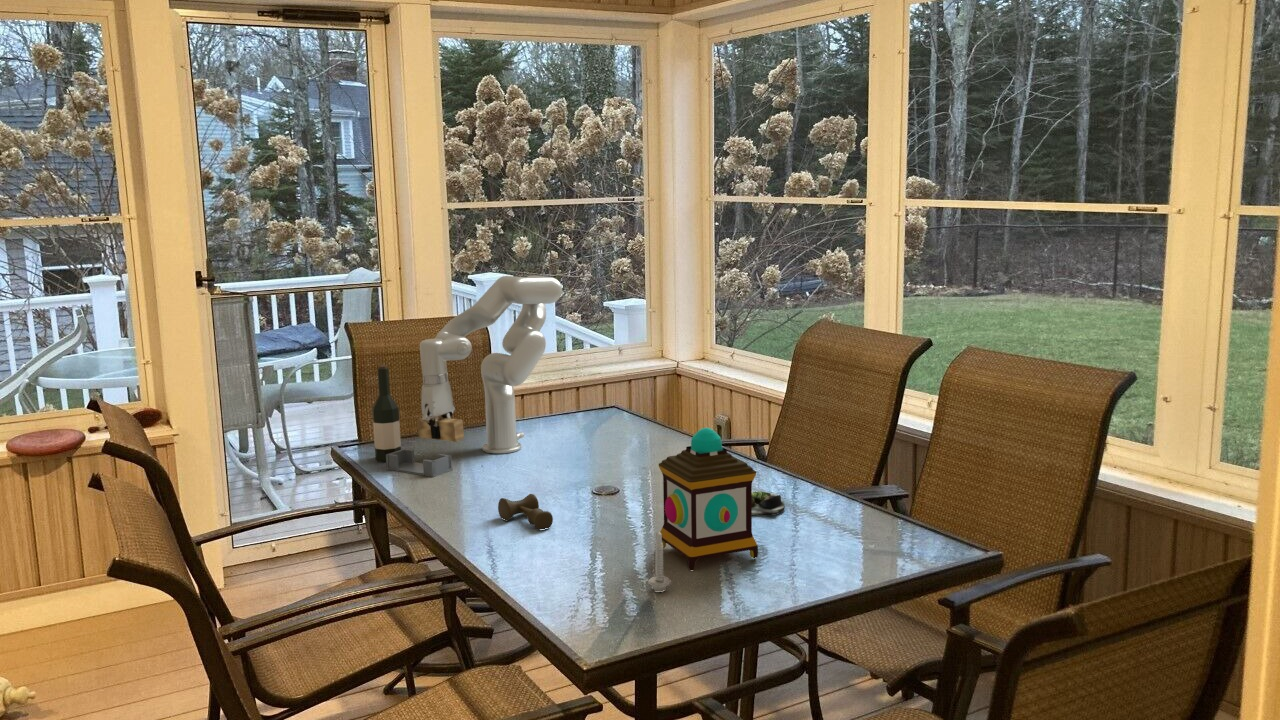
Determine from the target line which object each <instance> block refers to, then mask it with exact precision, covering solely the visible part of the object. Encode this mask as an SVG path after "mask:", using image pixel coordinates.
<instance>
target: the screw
mask: <svg viewBox="0 0 1280 720" xmlns="http://www.w3.org/2000/svg"><path fill="white" fill-rule="evenodd" d="M662 544H663V542H662V534H661V533H660V531H657V532H656V533H655V544H654V545H655V546H654V548H655V549H654V554H655V555H654V556H655V557H654V562H655V563H654V564H655V565H654V572H655V576H652V577H650V578H649V579H648V581H647V583H648V585H649V586H651V587H653V591H654V590H655V591H663V590H666V591H667V587H668V586H670V585H671V584H672V580H671V579H670V577H667V576H665V575H664V574H665V572H664V571H665V569H664V568H665V567H664V565H665V564H664V563H665V562H664V560H665V559H664V552H665V551H664V549H665V548H663V545H662ZM655 591H654V592H655Z"/></svg>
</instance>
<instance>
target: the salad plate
mask: <svg viewBox="0 0 1280 720" xmlns="http://www.w3.org/2000/svg"><path fill="white" fill-rule="evenodd" d="M785 508H786V505H785V503H784V501H783V499H782V496H781V494H776V493H771V492H767V491H760V490H757V491H752V515H767V516H773V515H772V514H776V515H778V514H777V513H779V514H781V513H783V512H784V510H785ZM782 511H783V512H782ZM780 512H781V513H780Z"/></svg>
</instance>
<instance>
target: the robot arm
mask: <svg viewBox="0 0 1280 720" xmlns="http://www.w3.org/2000/svg"><path fill="white" fill-rule="evenodd" d="M562 294H563V287H562V284H561V282H560V281H559V280H558V279H557V278H555V277H552V276H544V275H543V276H542V275H528V276H526V277H524V276H523V277H521V276H513V275H503V276H500V277H499V278H498V279H497V280H496V281H494V282H493V284H492V285H491V286H490V287H489V288H487V290H486V291H485V292H484V294H483V295H481V297H480V298H479V299H478V300H477V301H476V302H475V303H474V304H473V305H472V306H471V307H469V308H467V309H466V310H464V311H463V312H461V313H459V314H458V315H456V316H455V317H453V318H452V319H451V320H449V321H448V322H447V323H446V324H445V325H444V326H443V327H442V328H441V330H439V332H438V333H437V334H436V336H435V337H434V338H426V339H424V340H421V341H420V343H419V353H420V363H421V373H422V383H423V385H422V386H421V392H420V403H421V407H420V409H421V414H422V417H423V418H422V420H423V421H425V422H427V423H428V424H429V426H430V427H431V437H432V438H434V439H433V440H436V439H440V428H439V426H438V417H442V418H451V419H452V416H453V414H454V412H455V410H456V407H455V406H454V399H453V393H452V387H451V383H450V381H449V373H448V368H447V366H448V365H447V362H448V361H461V360H462V361H463V360H464V359H467V357H469V356H470V355H471V353H472V349H473V347H472V343H471V341H470V340H469V339H468V338H467V337H466V336H468V335H469V334H471V333H473V332H475V331H477V330H478V331H479V330H481V329H484V328H487V327H490V326H492V325H494V324H495V323H496V322H497V320H498V319H499V318H500V317H501V316H502V315H503V314H504V313H505V311H507V309H508V308H509V307H510V306H511V305H512V304H518V305H522V307H521V311H520V313H518V316H517V317H516V319H514V322H513V323H512V324H511V326H510V327H509V329H508V330H507V331H506V333H505V335H504V337H503V339H502V343H501V344H502V348H503V350H504V351H505V352H506V353H508V354H506V353H501V352H494V353H493V352H492V353H490V354H487V355H485V357H484V358H483V360H482V362H481V364H480V373H481V374H480V375H481V379H482V382H483V390H484V401H485V403H484V404H485V406H484V407H485V423H486V424H485V427H486V429H485V430H486V443H485V444H484V445H482V446H481V447H482V451H483V452H484V453H488V454H496V455H497V454H500V455H501V454H509V453H510V454H511V453H514V452H518V451H520V450H522V443H520V442H519V440H520V439H523V438H525V432H523V431H520V432H517V425H516V424H517V420H516V419H517V418H516V399H515V397H516V396H515V389H514V387H517V386H518V387H519V386H520V385H522V384H523V383H524V382H525V381H526V380H527V379H528V378H529V376H530V375H531V373H532V372H533V370H534V369H535V367H536V366H537V364H538V363H539V362H540V360H541V359H542V357H543V355H544V354H545V350H546V346H547V345H546V344H547V343H546V338H545V336H544V334H543V333H542V332H541V329H542V328H543V326H544V324H545V321H546V317H547V309H546V304H553V303H556V302H557V301H558V300H560V298H561V296H562ZM433 418H434V421H433Z"/></svg>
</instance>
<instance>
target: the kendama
mask: <svg viewBox="0 0 1280 720" xmlns="http://www.w3.org/2000/svg"><path fill="white" fill-rule="evenodd" d="M539 506H540V504H539V501H538V498H537V496H536V495H535V494H533V493H530V494H528V495H527V496H525V497H524V498H522V499H519V500H514V501H513V500H510V499H507V498H504V497H502V498H500V499H499V500H498V503H497V511H498V515H499V516H500V519H501V518H503V519H505V520H508V521H510V520H511V519H512V518H514V517H513V516H515V515H518V514H523V515H524V516H526V518H527V521H528V523H529V524H530V525H532V526H534V527H535V529H536V530H537V529H545V528H549V527H550V528H551V527H552V525H553V521H554V518H553V515H552V513H551V512H550V511H548V510H546V511H545V510H543V509H542V508H539Z"/></svg>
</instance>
